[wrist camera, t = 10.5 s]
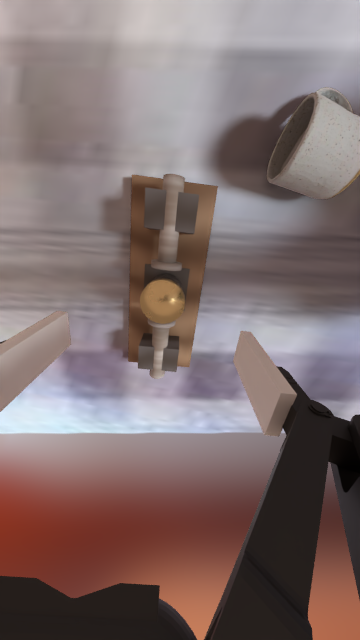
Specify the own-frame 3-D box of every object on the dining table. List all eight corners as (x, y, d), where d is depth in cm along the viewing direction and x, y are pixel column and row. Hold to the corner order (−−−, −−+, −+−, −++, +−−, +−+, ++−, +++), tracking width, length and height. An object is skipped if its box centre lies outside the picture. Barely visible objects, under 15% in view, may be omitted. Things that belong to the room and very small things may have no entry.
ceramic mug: (313, 207, 28) (360, 195, 20) (258, 189, 27) (288, 169, 20) (356, 111, 24) (433, 54, 17) (295, 86, 23) (348, 15, 16)
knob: (168, 263, 29) (165, 270, 22) (190, 292, 30) (193, 306, 24) (141, 286, 30) (130, 299, 24) (164, 312, 32) (160, 331, 25)
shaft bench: (133, 177, 26) (120, 158, 20) (216, 188, 27) (227, 173, 21) (129, 357, 37) (119, 381, 31) (188, 363, 37) (190, 387, 31)
